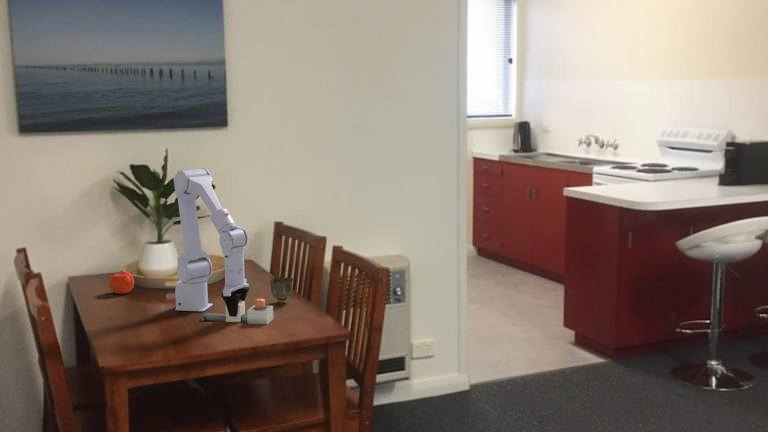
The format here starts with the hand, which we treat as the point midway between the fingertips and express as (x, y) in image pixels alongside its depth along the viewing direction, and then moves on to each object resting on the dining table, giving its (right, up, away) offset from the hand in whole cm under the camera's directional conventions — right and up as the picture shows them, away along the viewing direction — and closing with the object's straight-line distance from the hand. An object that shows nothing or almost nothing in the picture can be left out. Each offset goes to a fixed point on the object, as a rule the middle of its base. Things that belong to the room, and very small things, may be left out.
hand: (236, 313), depth 240 cm
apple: (-45, +3, +34) cm, 57 cm away
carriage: (0, -2, 0) cm, 2 cm away
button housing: (+7, -2, -1) cm, 8 cm away
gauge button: (+7, +2, -2) cm, 8 cm away
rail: (-3, -2, +1) cm, 4 cm away
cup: (+11, +1, +19) cm, 22 cm away
